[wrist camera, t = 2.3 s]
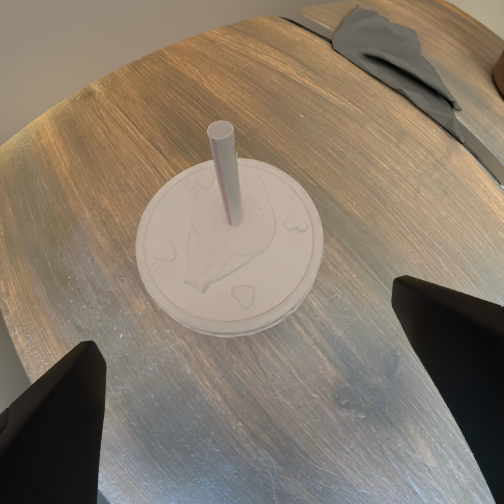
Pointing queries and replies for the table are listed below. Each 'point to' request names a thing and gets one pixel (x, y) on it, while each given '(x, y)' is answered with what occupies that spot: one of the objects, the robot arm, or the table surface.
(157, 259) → the smoothie
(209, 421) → the table surface
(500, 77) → the planter
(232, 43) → the table surface
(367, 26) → the cloth
